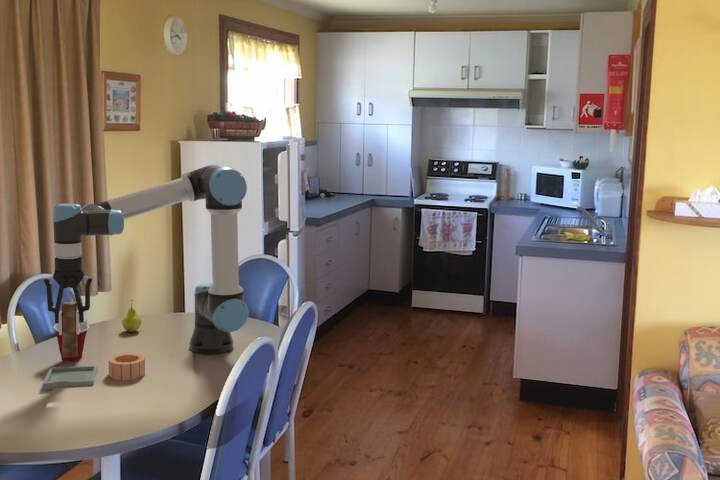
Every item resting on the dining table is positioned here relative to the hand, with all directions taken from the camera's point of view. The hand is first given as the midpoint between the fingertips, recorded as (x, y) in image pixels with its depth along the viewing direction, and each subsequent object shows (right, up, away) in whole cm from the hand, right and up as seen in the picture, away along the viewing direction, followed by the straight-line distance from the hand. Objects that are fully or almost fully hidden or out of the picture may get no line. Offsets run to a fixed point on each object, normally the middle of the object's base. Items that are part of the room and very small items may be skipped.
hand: (69, 333), depth 218 cm
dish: (0, -15, +2) cm, 15 cm away
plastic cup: (-7, -12, +20) cm, 25 cm away
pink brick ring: (+15, -15, +7) cm, 22 cm away
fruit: (+1, -7, +55) cm, 55 cm away
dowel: (0, -7, +1) cm, 7 cm away
